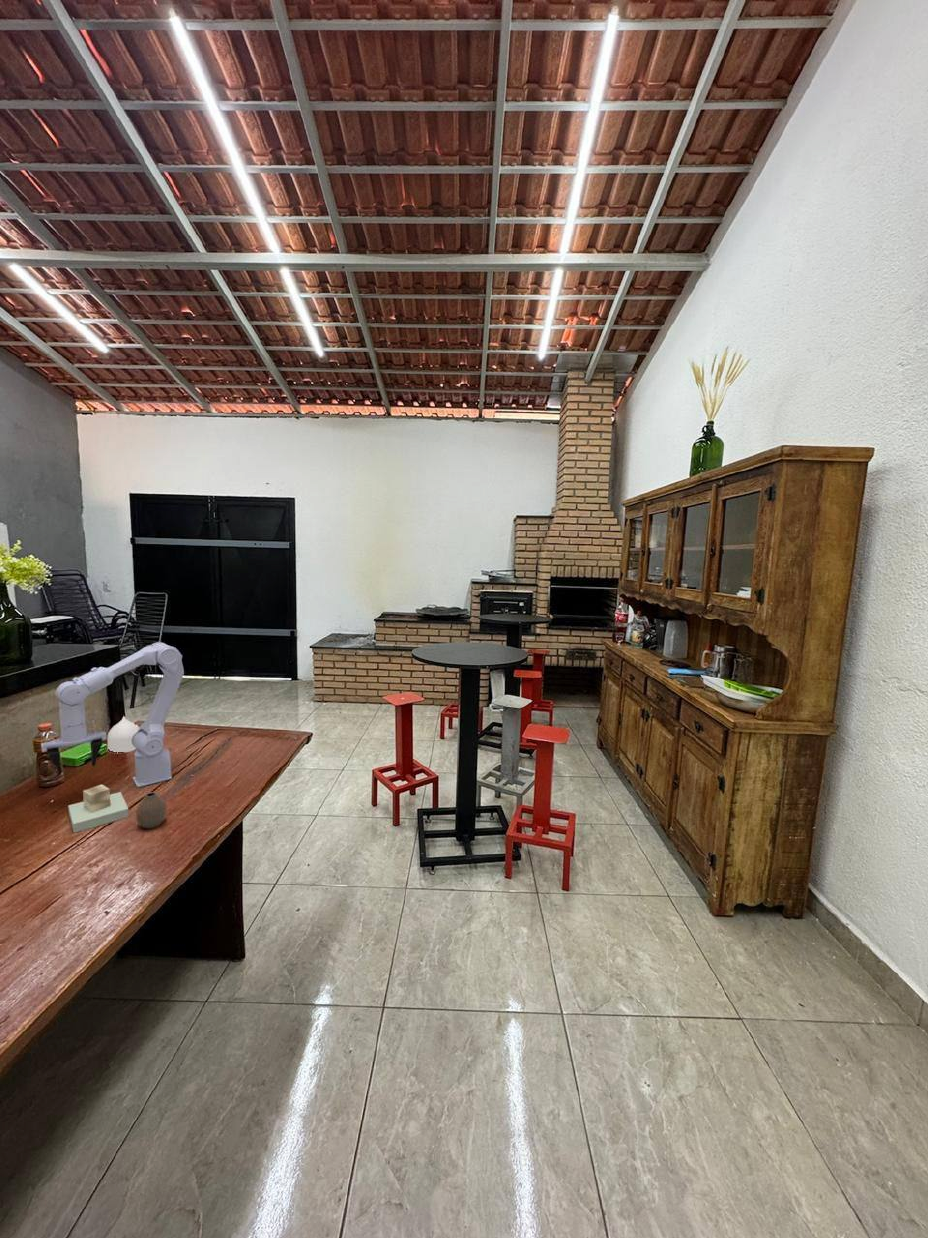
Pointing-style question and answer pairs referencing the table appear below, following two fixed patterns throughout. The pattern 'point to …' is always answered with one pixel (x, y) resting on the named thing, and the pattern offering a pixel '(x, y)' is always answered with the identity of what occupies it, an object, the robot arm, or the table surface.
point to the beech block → (96, 798)
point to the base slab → (98, 814)
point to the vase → (151, 811)
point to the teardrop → (122, 736)
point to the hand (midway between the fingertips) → (76, 768)
